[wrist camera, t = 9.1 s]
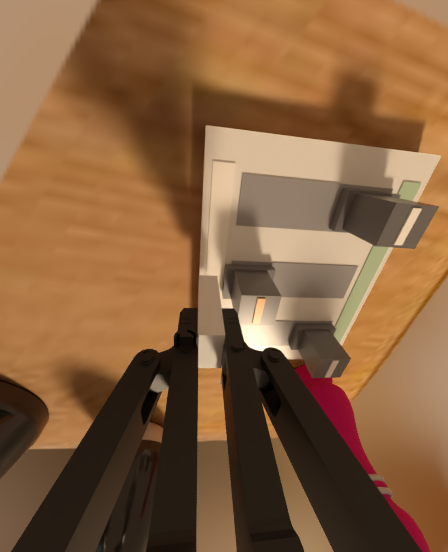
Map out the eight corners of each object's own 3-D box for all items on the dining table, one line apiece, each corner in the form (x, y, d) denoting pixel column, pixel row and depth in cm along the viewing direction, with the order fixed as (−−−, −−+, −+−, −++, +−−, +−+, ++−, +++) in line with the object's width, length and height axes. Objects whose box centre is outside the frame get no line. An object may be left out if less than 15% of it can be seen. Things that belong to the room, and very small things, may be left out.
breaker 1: (288, 344, 25) (305, 380, 21) (295, 323, 23) (315, 358, 19) (323, 344, 25) (346, 379, 21) (332, 324, 24) (359, 357, 20)
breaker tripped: (222, 293, 20) (227, 327, 16) (225, 264, 19) (232, 293, 15) (266, 294, 21) (281, 327, 17) (273, 266, 19) (292, 294, 15)
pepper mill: (302, 355, 29) (447, 639, 12) (339, 366, 32) (507, 620, 14) (274, 385, 32) (359, 647, 15) (310, 393, 35) (420, 631, 17)
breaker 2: (328, 228, 18) (365, 249, 14) (343, 188, 16) (389, 198, 12) (375, 231, 18) (423, 252, 14) (392, 193, 17) (452, 204, 13)
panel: (196, 347, 27) (195, 362, 25) (205, 128, 15) (205, 124, 13) (326, 346, 29) (335, 359, 27) (417, 155, 18) (443, 155, 16)
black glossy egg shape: (141, 449, 38) (110, 602, 25) (97, 428, 33) (30, 604, 20) (187, 430, 37) (180, 584, 23) (148, 405, 32) (112, 581, 19)
